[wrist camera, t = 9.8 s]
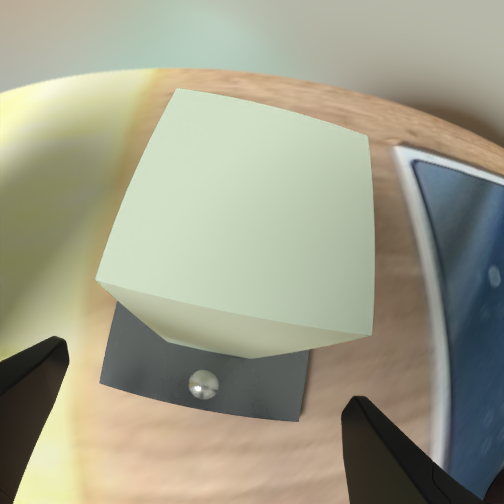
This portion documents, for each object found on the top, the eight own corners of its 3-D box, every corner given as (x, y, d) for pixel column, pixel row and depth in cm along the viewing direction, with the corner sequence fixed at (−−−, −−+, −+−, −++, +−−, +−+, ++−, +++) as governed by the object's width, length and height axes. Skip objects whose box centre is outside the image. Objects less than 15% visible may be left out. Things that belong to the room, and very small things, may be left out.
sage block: (250, 358, 16) (371, 335, 5) (167, 342, 15) (94, 279, 4) (263, 280, 17) (367, 136, 6) (185, 263, 17) (177, 88, 6)
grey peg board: (295, 420, 15) (311, 428, 13) (102, 382, 14) (87, 384, 12) (316, 245, 20) (333, 227, 17) (149, 208, 18) (143, 185, 16)
